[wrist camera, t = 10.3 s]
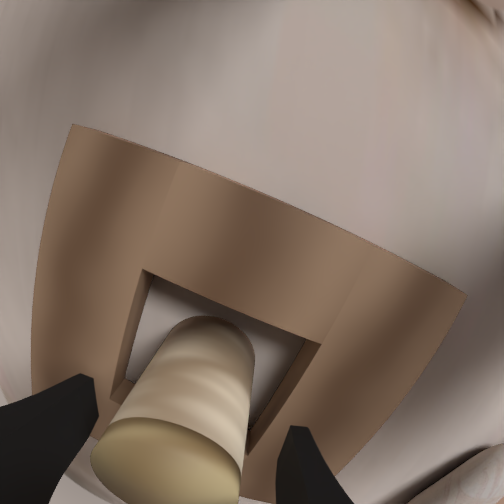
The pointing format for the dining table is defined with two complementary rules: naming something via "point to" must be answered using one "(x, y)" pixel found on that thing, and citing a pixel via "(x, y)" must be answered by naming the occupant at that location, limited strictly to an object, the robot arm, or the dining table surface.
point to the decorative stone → (469, 481)
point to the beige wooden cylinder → (183, 420)
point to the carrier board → (228, 294)
